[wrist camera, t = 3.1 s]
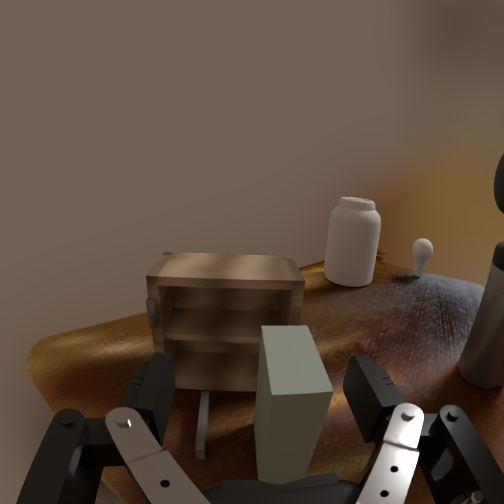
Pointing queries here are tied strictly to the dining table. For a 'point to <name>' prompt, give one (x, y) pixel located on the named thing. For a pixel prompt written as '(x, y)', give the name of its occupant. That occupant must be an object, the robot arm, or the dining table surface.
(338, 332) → the dining table surface
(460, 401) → the dining table surface
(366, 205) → the can
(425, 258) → the lightbulb
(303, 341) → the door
